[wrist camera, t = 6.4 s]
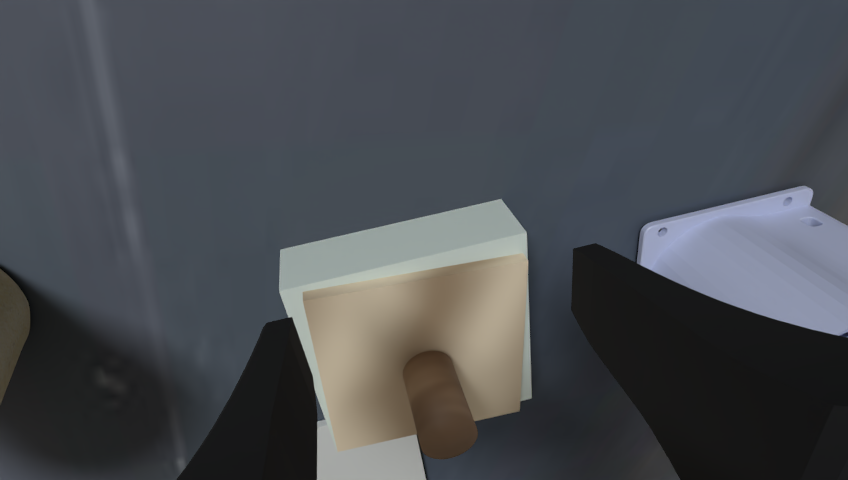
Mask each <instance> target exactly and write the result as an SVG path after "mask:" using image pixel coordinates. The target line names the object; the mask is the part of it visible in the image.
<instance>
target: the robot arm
mask: <svg viewBox="0 0 848 480" xmlns="http://www.w3.org/2000/svg"><path fill="white" fill-rule="evenodd" d="M812 196H813V191H812V189H810V188H808V187H806V186H800V187H796V188H791V189H787V190H783V191H779V192H775V193H771V194H766V195H762V196H758V197H754V198H750V199H746V200H741V201H737V202H733V203H729V204H725V205H721V206H716V207H712V208H708V209H704V210H700V211H696V212H691V213H687V214H683V215H679V216H675V217H671V218H666V219H662V220H658V221H654V222H650V223H648V224H646V225H645V226H643V228H642V229H641V232H640V238H639V247H638V256H637V263H635V262H633V261H631V260H629V259H627V258H625V257H623V256H621V255H619V254H617V253H615V252H613V251H611V250H609V249H607V248H605V247H603V246H601V245H598V244H596V243H595V244H591V245H587V246H583V247H578V248H574V249H573V275H572V306H571V310H572V312H573V314H574V316H575V318H576V320H577V322H578V324H579V326H580V327H581V329H582V331H583V333H584V335H585V336H586V338H587V340H588V342H589V343H590V345H591V346H592V347H593V349H594V350H595V352H596V353H597V354H598V356H599V357H600V359H601V360H602V361H603V363H604V364H605V365H606V367H607V368H608V369H609V371H610V372H611V373H612V375H613V376H614V378H615V379H616V380H617V382H618V383H619V384H620V386H621V387H622V388H623V390H624V391H625V392H626V394H627V395H628V396H629V398H630V399H631V400H632V402H633V403H634V405H635V406H636V407H637V409H638V410H639V411H640V413H641V414H642V416H643V417H644V419H645V420H646V422H647V423H648V425H649V426H650V428H651V429H652V431H653V433H654V435H655V436H656V438H657V440H658V441H659V443H660V445H661V446H662V448H663V450H664V451H665V453H666V455H667V457H668V458H669V460H670V462H671V463H672V465H673V467H674V469H675V471H676V472H677V474H678V476H679V478H680V480H848V226H847V225H845V224H843V223H841V222H839V221H838V220H836V219H834V218H832V217H830V216H828V215H827V214H825V213H823V212H821V211H819V210H817V209H815V208H814V207H812V206H810V202H811V199H812ZM661 228H662V230H661V231H660V232H658V231H659V230H660V229H661ZM177 480H317V407H316V398H315V389H314V381H313V375H312V372H311V369H310V367H309V364H308V361H307V358H306V355H305V352H304V350H303V347H302V344H301V341H300V338H299V335H298V332H297V330H296V327H295V324H294V321H293V318H292V317H289V318H285V319H281V320H277V321H273V322H268V323H266V325H265V326H264V327H263V329H262V332H261V334H260V337H259V339H258V341H257V344H256V346H255V348H254V350H253V352H252V355H251V357H250V359H249V361H248V363H247V365H246V367H245V369H244V371H243V373H242V375H241V377H240V379H239V381H238V383H237V385H236V387H235V389H234V391H233V393H232V395H231V397H230V399H229V400H228V402H227V404H226V405H225V407H224V409H223V411H222V412H221V414H220V416H219V418H218V419H217V421H216V423H215V424H214V426H213V428H212V429H211V431H210V432H209V434H208V436H207V437H206V439H205V440H204V442H203V443H202V445H201V446H200V448H199V449H198V451H197V452H196V454H195V455H194V457H193V458H192V459H191V461H190V462H189V464H188V465H187V466H186V468H185V469H184V471H183V472H182V473H181V474H180V476H179V477H178V478H177Z"/></svg>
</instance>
